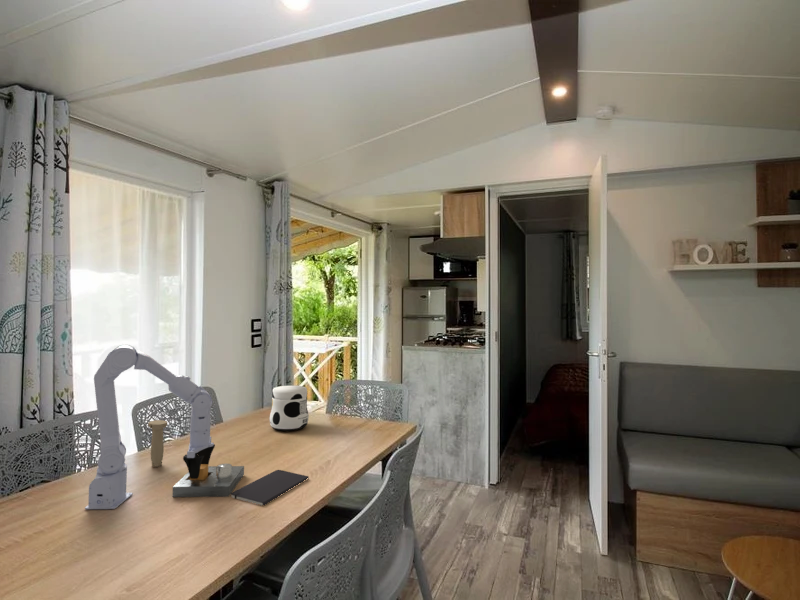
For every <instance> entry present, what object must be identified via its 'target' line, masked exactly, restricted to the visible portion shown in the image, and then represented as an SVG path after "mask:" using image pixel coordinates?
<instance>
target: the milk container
mask: <svg viewBox="0 0 800 600" xmlns="http://www.w3.org/2000/svg"><path fill="white" fill-rule="evenodd" d="M271 395H272V397H271V410H270V413H269V424H270V427H271V428H272V429H275V431H276V430H277V431H283V432H284V431H285V432H287V431H288V432H291V431H298V430H300V429H303V428H305V427H306V426H307V425H308V423H309V414H310V413H309V411H308V388H307V387H306V386H303V385H281V386H280V385H279V386H275V387H273V388H272V392H271Z"/></svg>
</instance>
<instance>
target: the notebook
mask: <svg viewBox="0 0 800 600" xmlns="http://www.w3.org/2000/svg"><path fill="white" fill-rule="evenodd" d="M307 478H308V479H309V476H308V475H304V474H301V473H295V472H292V471H286V470H282V469H276V470H274V471H271V472H270V473H268V474H266V475H264V476H262V477H260V478H258V479H255V480H254V481H252V482H250V483H248V484H246V485H244V486H242V487H239V488H238V489H236V490H233V491H232V493H231V494H230V495H231V498H233V499H235V500H239V501H244V502H247V501H248V503H251V502H252V504H254V503H256V504H255V505H258V504H260V505H259V506H262V505H264V506H266V505H268V504H269V503H271V502H273V501H274V500H276V499H278V498H279V497H278V496H280V495H281V494H283V493H285V492H286V491H288V490H289V489H291V488H293V487H294V486H296V485H298V484H299V483H301V482H303V481H304V480H306V479H307ZM303 483H304V482H303ZM298 486H299V485H298ZM293 489H294V488H293ZM291 490H292V489H291ZM288 492H289V491H288ZM286 493H287V492H286ZM286 493H285V494H286ZM283 495H284V494H283ZM281 496H282V495H281ZM281 496H280V497H281ZM277 497H278V498H277ZM275 498H276V499H275ZM273 499H274V500H273ZM272 500H273V501H272ZM270 501H271V502H270ZM268 502H269V503H268ZM267 503H268V504H267ZM265 504H266V505H265Z"/></svg>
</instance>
